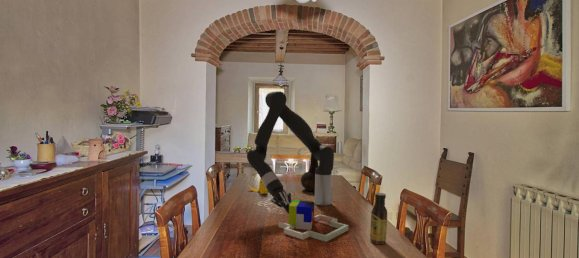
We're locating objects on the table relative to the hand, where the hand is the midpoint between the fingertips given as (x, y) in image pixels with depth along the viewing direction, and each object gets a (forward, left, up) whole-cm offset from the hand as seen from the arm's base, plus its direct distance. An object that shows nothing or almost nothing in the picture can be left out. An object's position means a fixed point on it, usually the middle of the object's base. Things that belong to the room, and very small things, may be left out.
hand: (290, 212), depth 152 cm
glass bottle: (-48, -49, -5) cm, 68 cm away
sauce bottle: (-19, +37, -5) cm, 42 cm away
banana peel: (-17, -59, -5) cm, 61 cm away
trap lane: (-4, +12, -4) cm, 13 cm away
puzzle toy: (-2, +6, -5) cm, 8 cm away
